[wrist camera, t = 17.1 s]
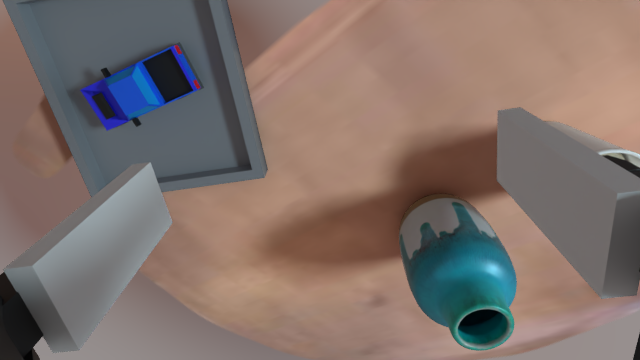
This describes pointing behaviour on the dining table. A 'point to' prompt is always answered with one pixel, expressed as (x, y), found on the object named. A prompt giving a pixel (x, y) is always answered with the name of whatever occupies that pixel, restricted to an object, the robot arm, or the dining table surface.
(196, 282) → the dining table surface
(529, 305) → the dining table surface
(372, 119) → the dining table surface
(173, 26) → the tray
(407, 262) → the vase
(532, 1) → the dining table surface
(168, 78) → the toy car
